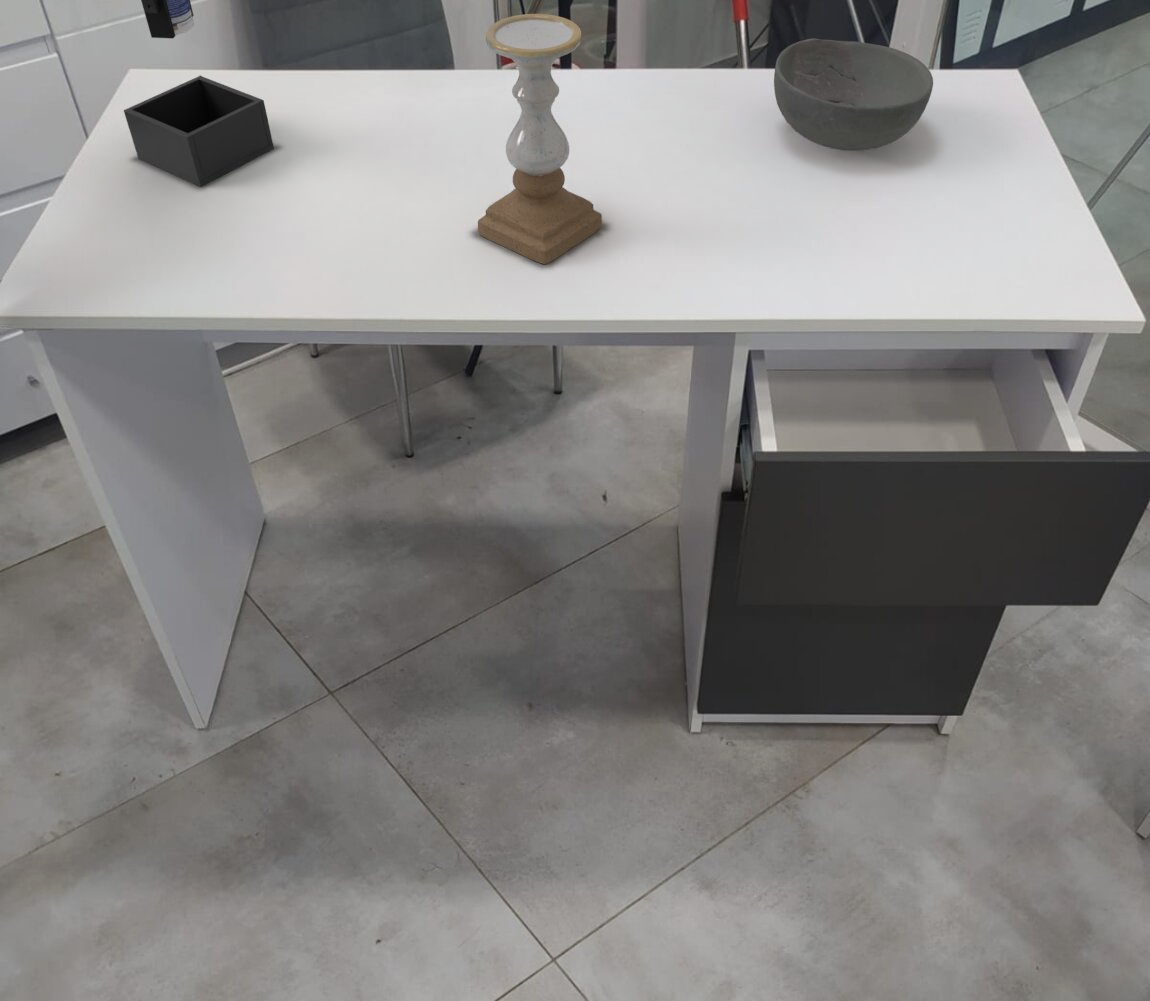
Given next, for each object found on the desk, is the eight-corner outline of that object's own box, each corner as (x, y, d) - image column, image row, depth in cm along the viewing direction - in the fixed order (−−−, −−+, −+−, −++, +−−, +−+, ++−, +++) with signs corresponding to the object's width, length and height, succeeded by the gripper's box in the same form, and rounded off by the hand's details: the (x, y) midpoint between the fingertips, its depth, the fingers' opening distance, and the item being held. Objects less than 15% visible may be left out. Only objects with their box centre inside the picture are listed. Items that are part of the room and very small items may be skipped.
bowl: (811, 188, 141) (823, 113, 134) (741, 119, 155) (749, 47, 147) (949, 161, 146) (967, 87, 138) (869, 96, 159) (882, 25, 152)
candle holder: (545, 265, 129) (538, 62, 112) (476, 234, 134) (460, 35, 117) (604, 226, 135) (606, 28, 118) (536, 197, 140) (529, 3, 123)
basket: (200, 187, 142) (187, 137, 138) (138, 158, 148) (123, 110, 143) (274, 148, 150) (263, 99, 145) (212, 123, 155) (200, 75, 150)
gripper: (113, -166, 113) (174, 59, 129) (180, -213, 126) (227, -2, 142) (43, -168, 113) (112, 57, 130) (116, -214, 126) (171, -4, 143)
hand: (172, 26), depth 136 cm, fingers closed on pill bottle, 5 cm apart
